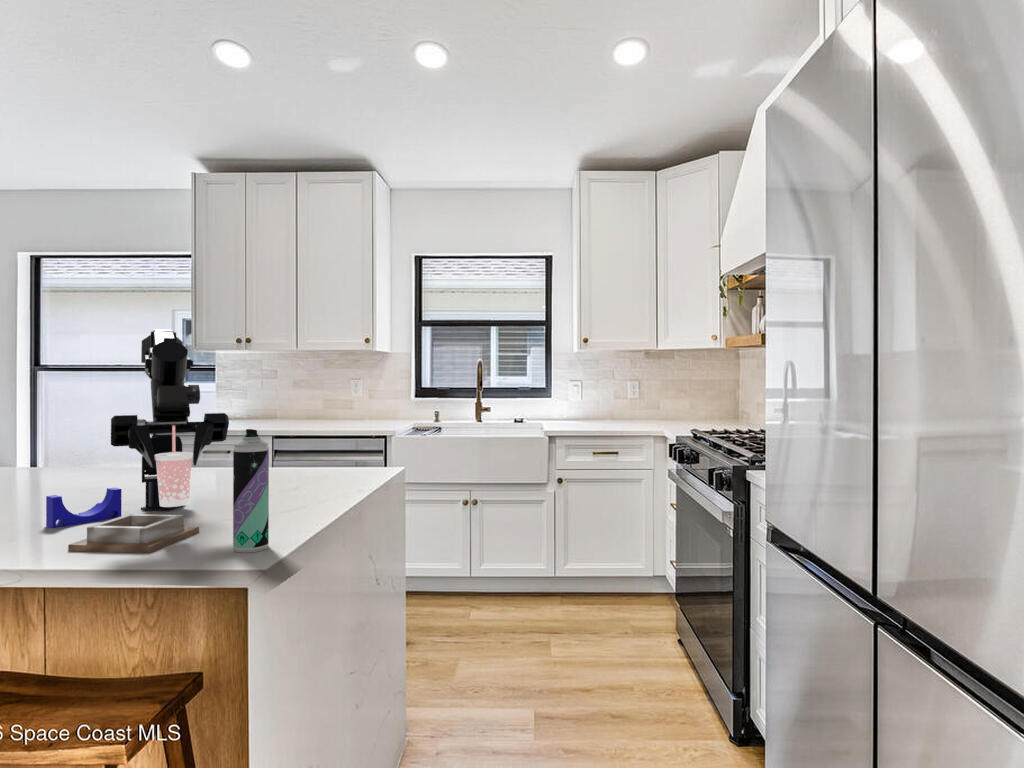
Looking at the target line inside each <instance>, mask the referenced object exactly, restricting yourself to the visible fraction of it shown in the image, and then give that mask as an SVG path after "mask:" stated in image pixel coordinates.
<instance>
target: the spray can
mask: <svg viewBox="0 0 1024 768" xmlns="http://www.w3.org/2000/svg"><path fill="white" fill-rule="evenodd" d="M243 435H244V436H242V438H241V439H240V440H239V441H237V442H236V443H234V444H233V447H234V448H233V452H232V455H233V457H232V459H233V460H232V461H233V462H232V464H233V465H232V466H233V467H232V468H233V469H232V471H233V473H232V474H233V476H232V477H233V478H232V479H233V480H232V482H233V483H232V484H233V486H232V487H233V488H232V489H233V490H232V492H233V495H232V496H233V497H232V498H233V499H232V504H233V505H232V507H233V510H232V516H233V518H232V525H233V526H232V528H233V529H232V541H233V542H232V550H233V551H234V552H235V553H240V552H241V553H242V554H243V553H244V554H245V553H255V552H261V551H264V550H267V549H268V548H269V541H270V540H269V539H270V538H269V537H270V536H269V535H270V534H269V530H270V529H269V528H270V527H269V524H270V523H269V517H270V516H269V507H270V506H269V502H270V501H269V499H270V498H269V497H270V495H269V492H270V490H269V489H270V487H269V486H270V485H269V482H270V481H269V480H270V479H269V477H270V476H269V475H270V474H269V470H270V469H269V466H270V465H269V464H270V463H269V460H270V459H269V458H270V450H269V449H270V447H269V446H268V445H269V443H268V442H266V441H265V440H264V439H262V438H261V436H260V435H259V434H258V430H257V429H252V428H246V429H245V434H243Z"/></svg>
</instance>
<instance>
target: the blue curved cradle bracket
mask: <svg viewBox="0 0 1024 768" xmlns="http://www.w3.org/2000/svg"><path fill="white" fill-rule="evenodd" d="M45 501H46V505H45V506H46V507H45V510H46V511H45V512H46V513H45V516H46V519H45V520H46V521H45V526H46V527H48V528H50V529H59V528H64V527H69V526H76V525H83V524H87V523H88V524H89V523H94V522H101V521H108V520H112V519H115V518H118V517H122V488H119V487H109V488H106V492H105V496H104V498H103V500H102V502H97V503H95V505H93V506H92V507H91V508H89V509H88V510H85V511H83V512H82V511H81V512H79V513H77V514H76V513H72V512H71V511H69V510H68V509H67V508H66V506H65V505H64V503H63V497H62V495H61V496H60V495H57V494H51V495H46V498H45Z"/></svg>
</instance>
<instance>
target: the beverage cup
mask: <svg viewBox="0 0 1024 768" xmlns="http://www.w3.org/2000/svg"><path fill="white" fill-rule="evenodd" d="M175 435H176V434H175V426H172V452H169V453H160V454H155V455H154V456H155V460H156V467H157V475H156V476H157V479H158V492H159V504H160V506H161V507H177V506H181V507H184V506H186V505H189V504H190V497H191V496H190V494H191V491H190V490H191V477H192V476H191V474H192V462H193V451H192V452H191V451H183V452H176V451H175ZM183 505H184V506H183Z"/></svg>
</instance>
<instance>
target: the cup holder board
mask: <svg viewBox="0 0 1024 768" xmlns="http://www.w3.org/2000/svg"><path fill="white" fill-rule="evenodd" d="M199 532H200V526H192V525H191V526H189V525H188V526H186V525H185V514H148V513H144V514H143V513H141V514H140V513H129V514H125V515H121V517H118V518H114V519H108V520H104V521H102V522H99V523H96V524H92V525H89V526H87V527H86V538H84V539H80V540H79V541H75V542H73V543H72V542H71V543H69V544H68V545H67V546H68V547H67V550H68V552H100V553H102V552H106V553H107V552H108V553H143V554H145V553H146V554H147V553H153V552H155V551H157V550H159V549H162V548H165V547H167V546H170V545H171V544H174V543H177V542H179V541H181V540H183V539H187V538H188V537H191V536H193V535H195V534H198V533H199Z"/></svg>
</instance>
